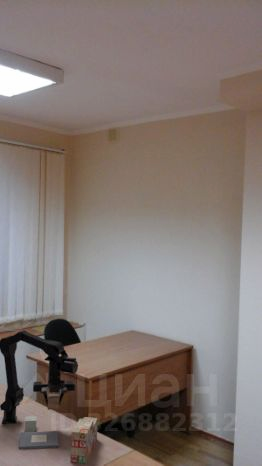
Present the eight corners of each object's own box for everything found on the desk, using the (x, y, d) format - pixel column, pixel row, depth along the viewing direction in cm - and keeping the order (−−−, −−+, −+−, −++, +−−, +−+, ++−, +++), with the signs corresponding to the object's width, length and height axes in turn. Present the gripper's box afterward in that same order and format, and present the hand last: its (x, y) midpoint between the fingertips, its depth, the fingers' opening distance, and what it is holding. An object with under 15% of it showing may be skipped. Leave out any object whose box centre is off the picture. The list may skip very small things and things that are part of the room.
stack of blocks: (83, 437, 190) (84, 409, 190) (97, 439, 189) (98, 411, 189) (70, 462, 169) (71, 431, 169) (85, 464, 168) (87, 432, 168)
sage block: (24, 427, 198) (25, 416, 198) (36, 426, 199) (36, 416, 199) (24, 432, 193) (25, 421, 193) (35, 431, 194) (36, 420, 194)
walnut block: (47, 405, 199) (48, 394, 199) (58, 404, 200) (58, 394, 200) (47, 409, 194) (48, 398, 194) (58, 409, 195) (59, 398, 195)
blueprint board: (20, 434, 190) (20, 432, 190) (57, 433, 193) (57, 430, 193) (18, 449, 177) (18, 446, 177) (58, 447, 180) (58, 444, 180)
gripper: (33, 377, 187) (31, 412, 187) (76, 376, 191) (74, 411, 191) (34, 369, 198) (32, 403, 198) (74, 368, 202) (73, 401, 202)
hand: (53, 404), depth 197 cm, fingers closed on walnut block, 5 cm apart
